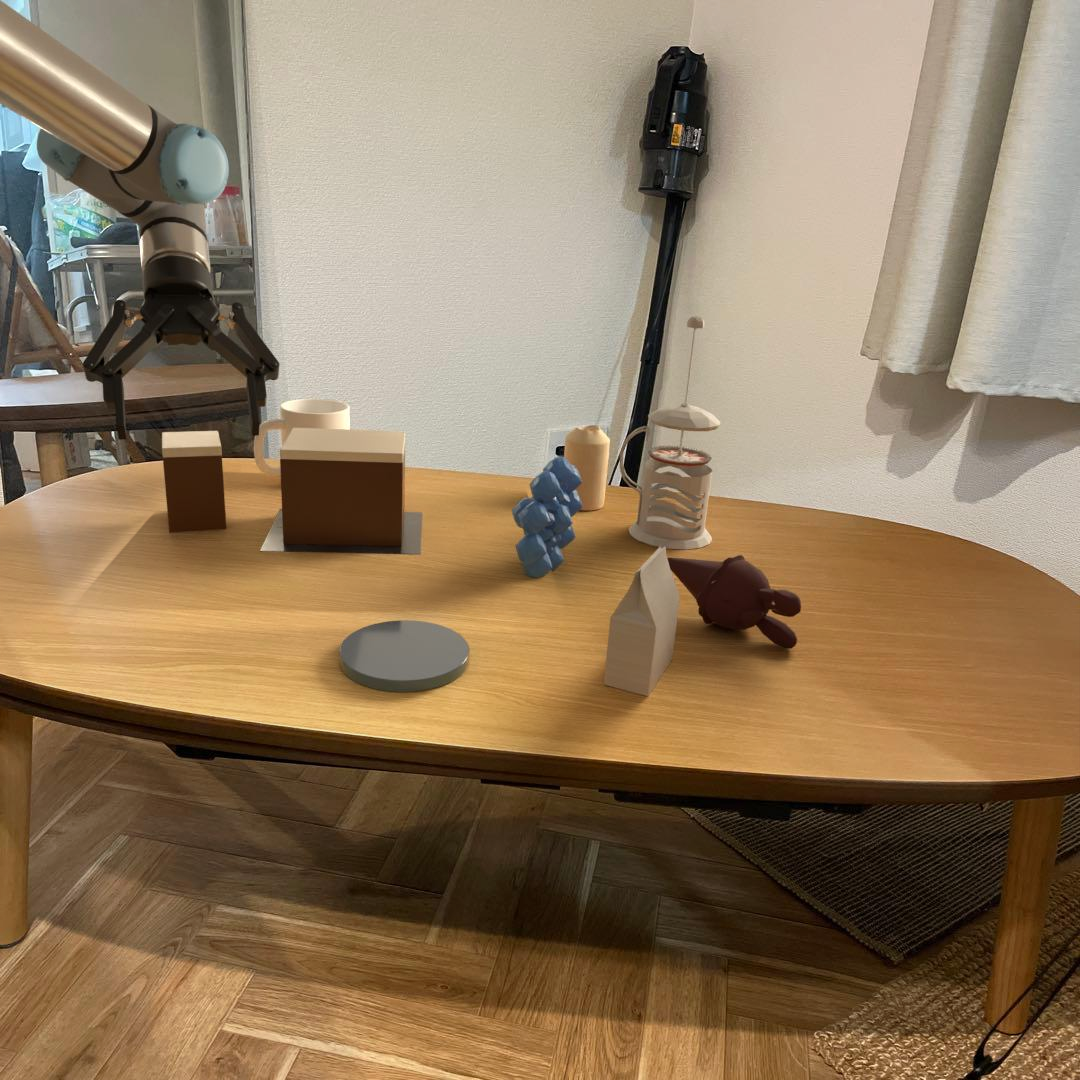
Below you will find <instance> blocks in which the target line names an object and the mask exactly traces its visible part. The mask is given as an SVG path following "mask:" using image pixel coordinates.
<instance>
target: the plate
mask: <svg viewBox="0 0 1080 1080" xmlns="http://www.w3.org/2000/svg"><path fill="white" fill-rule="evenodd" d="M338 654H339V655H338V656H339V667H340V668H341V670H342V672H343V673H344V675H346V676H347V677H348V678H349V679H350V680H352V681H353V682H355V683H357V684H359V685H361V686H364V687H367V688H370V689H374V690H379V691H383V692H391V693H392V692H394V693H411V692H422V691H427V690H432V689H436V688H440V687H442V686H446V685H448V684H449V683H452V682H454V681H455V680H457V679H458V678H460V677H461V676H462V675H463V674H464V673H465V672H466V670H467V669H468V666H469V664H470V645H469V643H468V642H467V640H466V639H465V637H464V636H462V635H461V634H460V633H458V632H457V631H455V630H453V629H451V628H449V627H447V626H444V625H441V624H438V623H434V622H429V621H423V620H412V619H411V620H410V619H408V620H406V619H405V620H401V619H400V620H389V621H383V622H378V623H373V624H370V625H366V626H364V627H361V628H359V629H357V630H354V631H353V632H351V633H350V634H349V635H347V636H346V637H345V638H344V639H343V640H342V642H341V644H340V646H339V653H338Z"/></svg>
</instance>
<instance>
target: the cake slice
mask: <svg viewBox="0 0 1080 1080" xmlns="http://www.w3.org/2000/svg"><path fill="white" fill-rule="evenodd" d="M221 443H222V442H221V439H220V435H219V431H218V430H200V431H199V430H197V431H196V430H195V431H163V432H161V454H162V465H163V475H164V476H163V477H164V488H165V489H164V490H165V497H166V509H167V521H168V522H167V523H168V533H169V534H174V533H187V532H203V531H204V532H205V531H219V530H227V517H226V516H227V515H226V501H225V500H226V499H225V484H224V468H223V453H222V451H223V450H222V444H221Z"/></svg>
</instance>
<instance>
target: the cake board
mask: <svg viewBox="0 0 1080 1080" xmlns="http://www.w3.org/2000/svg"><path fill="white" fill-rule="evenodd" d="M422 533H423V512H422V511H404V527H403V538H402V546H360V545H311V544H283V523H282V508H280V509H279V511H278V513H277V515H276V517H275V518H274V521H273V523H272V525H271V527H270V529H269V531H268V533H267V535H266V537H265V540H264V541H263V543H262V545H261V548H260V550H259V552H265V553H266V552H269V553H319V554H321V553H322V554H323V553H324V554H369V555H370V554H371V555H373V554H375V555H422V536H423V535H422Z"/></svg>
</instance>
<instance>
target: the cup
mask: <svg viewBox="0 0 1080 1080" xmlns="http://www.w3.org/2000/svg"><path fill="white" fill-rule="evenodd" d="M350 408H351V407H350V405H349V404H348V403H346V402H344V401H339V400H334V399H326V398H301V399H300V398H299V399H293V400H287V401H285V402H282V403H281V404H280V406H279V412H280V413H279V414H280V418H272V419H267V420H264V421H263V422H261V423H260V426H259V435H256V436H254V440H253V456H254V461H255V464H256V467H257V468H258V469H259V471H260V472H261V473H262V474H264V475H266V476H268V477H272V478H281V471H280V466H270V465H269V464H268V463H267V462H266V460H265V456H264V441H265V438H266V434H267V433H268V432H269V431H272V430H280V437H281V439H280V440H281V446H282V445H283V444H284V442H285V440H286V439H287V437H288V435H289V434H290V432H291V430H292V429H293V428H318V429H346V430H351V417H350V416H351V415H350Z"/></svg>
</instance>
